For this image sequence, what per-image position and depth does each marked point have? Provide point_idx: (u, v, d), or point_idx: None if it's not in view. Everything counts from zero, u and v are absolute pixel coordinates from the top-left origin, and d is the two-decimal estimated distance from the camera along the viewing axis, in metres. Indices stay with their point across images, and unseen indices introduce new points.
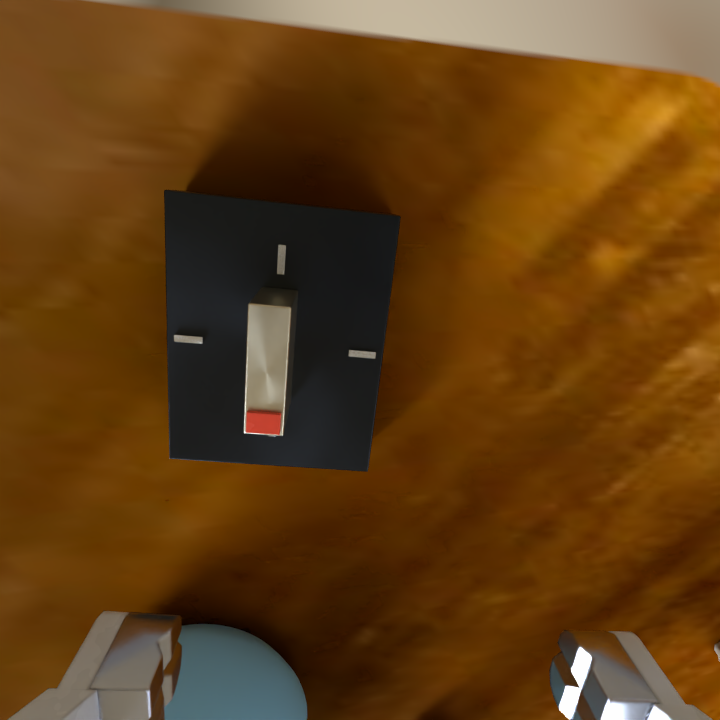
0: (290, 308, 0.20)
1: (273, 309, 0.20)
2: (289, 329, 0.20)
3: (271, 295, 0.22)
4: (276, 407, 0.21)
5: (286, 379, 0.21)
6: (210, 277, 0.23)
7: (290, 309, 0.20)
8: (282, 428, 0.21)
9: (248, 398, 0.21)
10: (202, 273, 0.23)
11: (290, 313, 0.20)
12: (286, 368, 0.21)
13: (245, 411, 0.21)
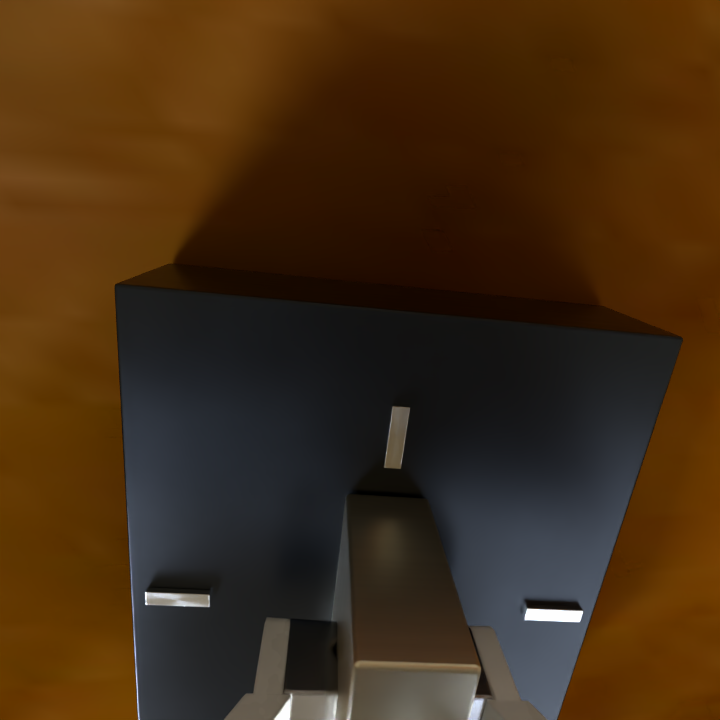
0: (478, 669, 0.07)
1: (428, 678, 0.07)
2: (468, 717, 0.07)
3: (389, 558, 0.08)
4: None
5: None
6: (228, 476, 0.10)
7: (478, 672, 0.07)
8: None
9: None
10: (209, 467, 0.10)
11: (477, 682, 0.07)
12: None
13: None
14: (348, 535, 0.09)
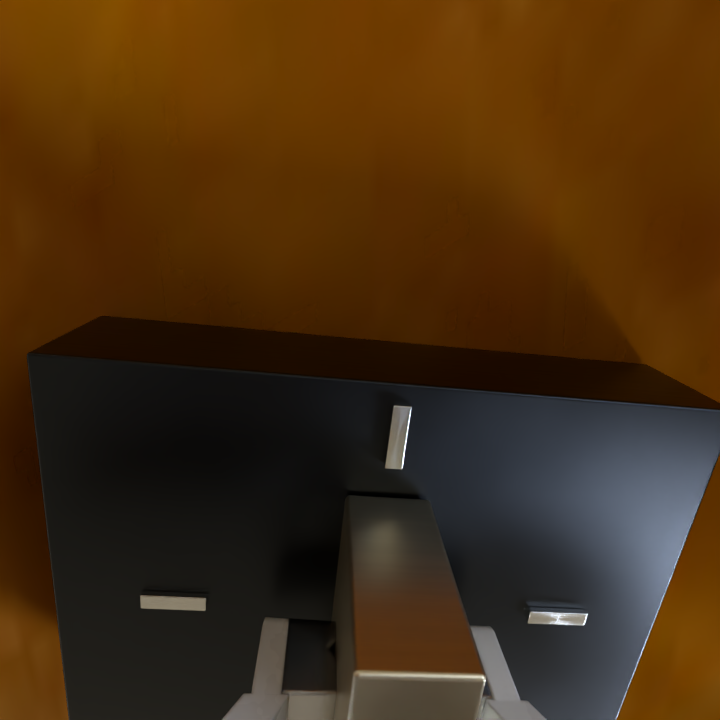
0: (483, 677, 0.06)
1: (432, 687, 0.06)
2: None
3: (390, 561, 0.08)
4: None
5: None
6: (228, 708, 0.12)
7: (483, 680, 0.06)
8: None
9: None
10: (220, 718, 0.12)
11: (482, 691, 0.06)
12: None
13: None
14: (348, 538, 0.09)
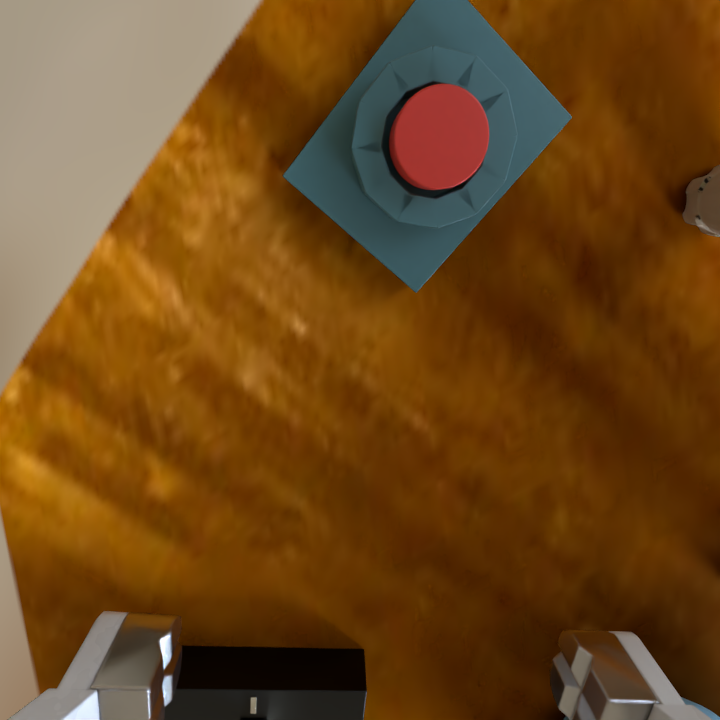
0: None
1: None
2: None
3: None
4: None
5: None
6: None
7: None
8: None
9: None
10: None
11: None
12: None
13: None
14: None
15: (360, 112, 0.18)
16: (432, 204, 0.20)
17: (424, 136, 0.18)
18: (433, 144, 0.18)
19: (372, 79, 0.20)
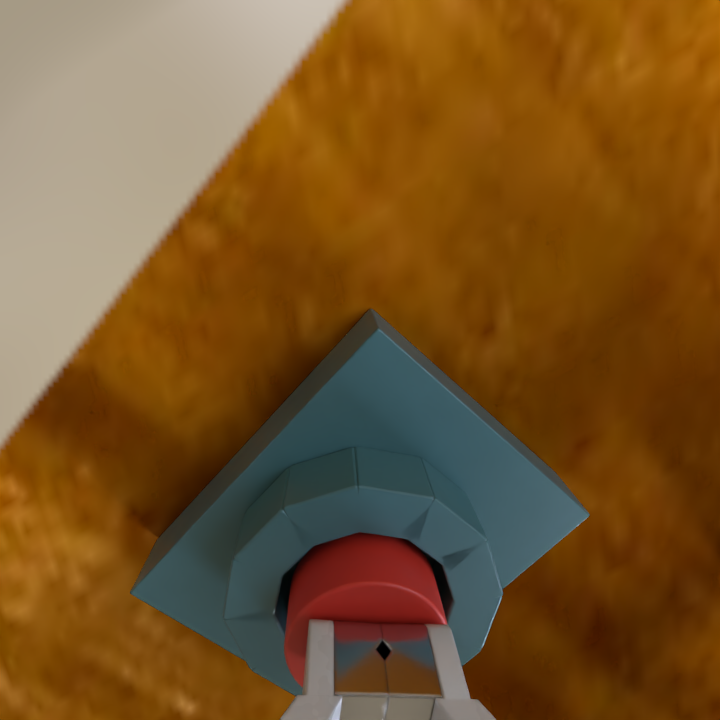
0: None
1: None
2: None
3: None
4: None
5: None
6: None
7: None
8: None
9: None
10: None
11: None
12: None
13: None
14: None
15: (235, 574, 0.11)
16: None
17: None
18: None
19: (269, 474, 0.12)
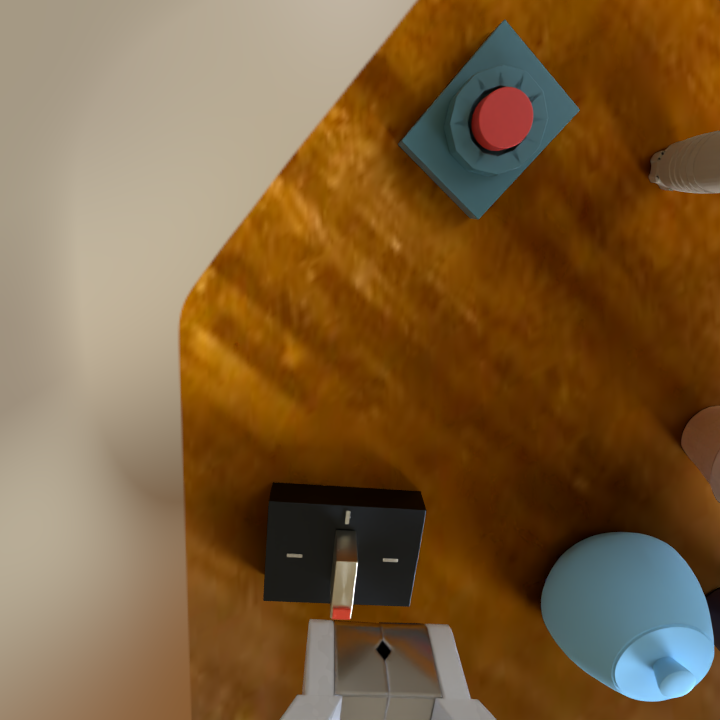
0: (357, 562, 0.39)
1: (349, 563, 0.39)
2: (356, 571, 0.39)
3: (344, 544, 0.41)
4: (348, 606, 0.40)
5: (353, 592, 0.40)
6: (305, 584, 0.45)
7: (357, 563, 0.39)
8: (350, 615, 0.41)
9: (333, 602, 0.40)
10: (303, 587, 0.45)
11: (357, 564, 0.39)
12: (354, 588, 0.40)
13: (331, 608, 0.40)
14: (336, 539, 0.41)
15: (456, 102, 0.31)
16: (495, 159, 0.33)
17: (496, 116, 0.31)
18: (500, 122, 0.31)
19: (461, 83, 0.33)
